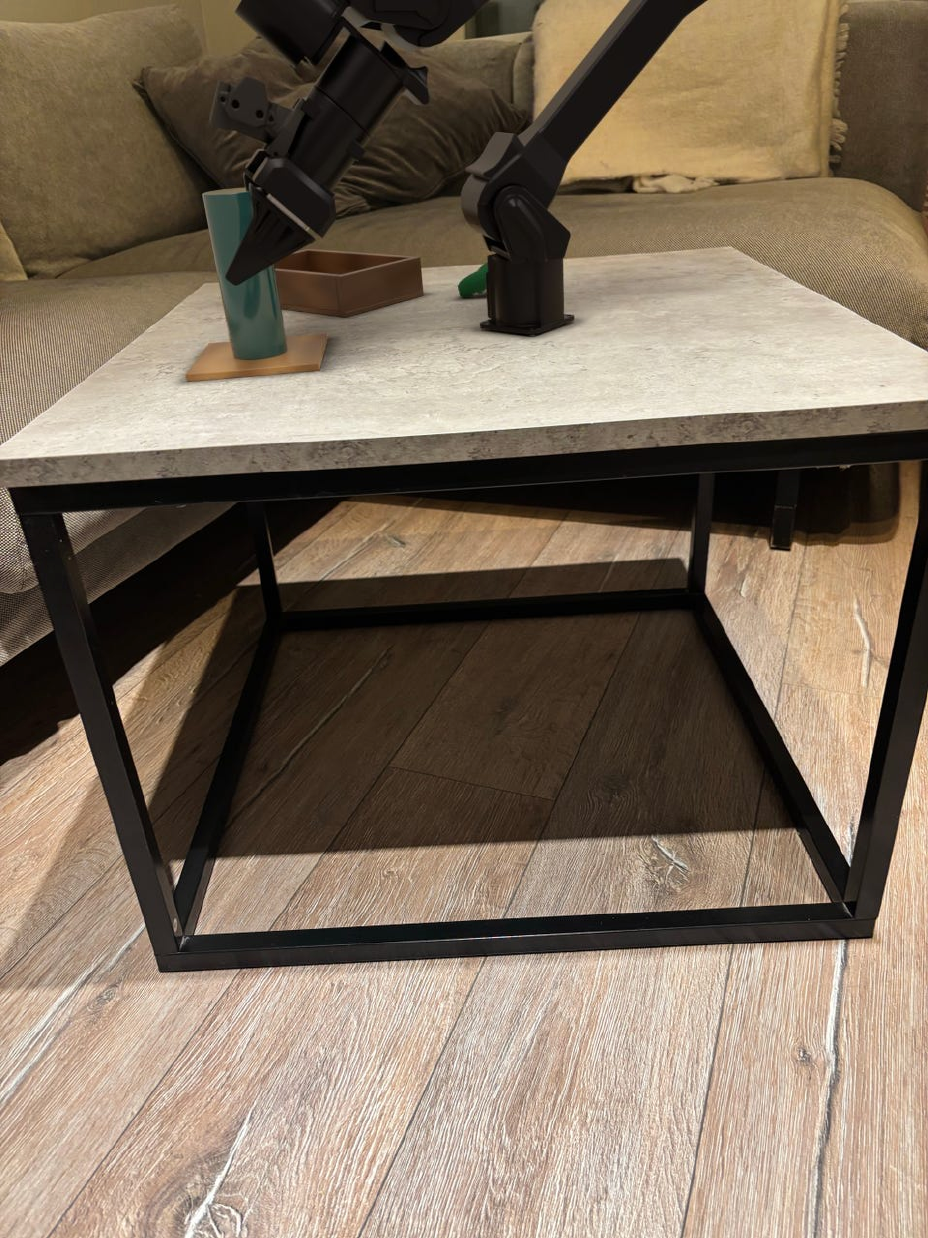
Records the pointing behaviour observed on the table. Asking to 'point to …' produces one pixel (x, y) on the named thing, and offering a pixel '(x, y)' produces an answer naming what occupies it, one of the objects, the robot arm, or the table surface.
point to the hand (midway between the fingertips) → (228, 273)
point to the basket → (346, 281)
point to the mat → (259, 360)
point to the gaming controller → (474, 283)
